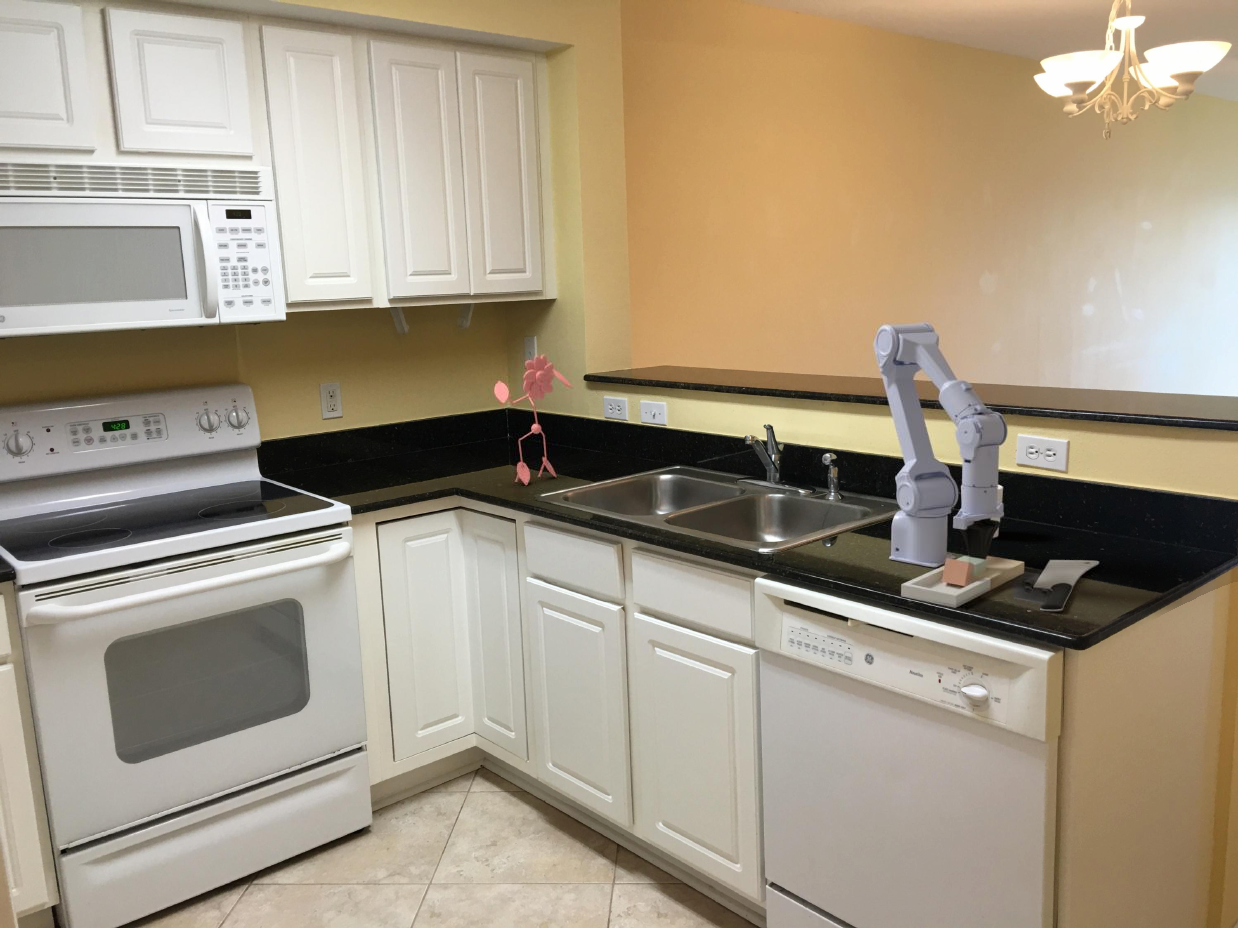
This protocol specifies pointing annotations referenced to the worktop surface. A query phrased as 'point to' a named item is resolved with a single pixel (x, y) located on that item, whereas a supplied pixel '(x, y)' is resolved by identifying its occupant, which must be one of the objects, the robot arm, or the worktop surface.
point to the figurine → (537, 385)
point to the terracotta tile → (957, 572)
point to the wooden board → (998, 571)
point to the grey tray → (942, 589)
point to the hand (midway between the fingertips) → (977, 562)
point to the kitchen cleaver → (1061, 581)
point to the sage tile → (975, 564)
